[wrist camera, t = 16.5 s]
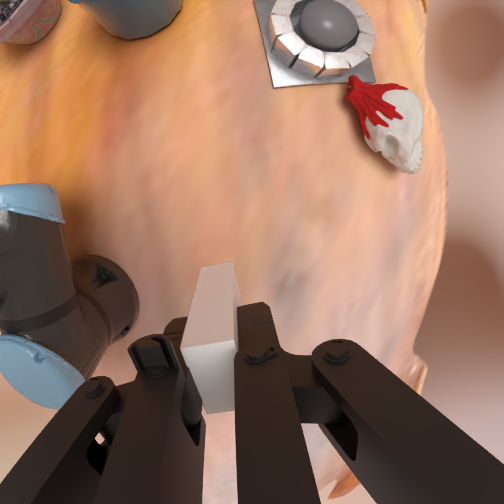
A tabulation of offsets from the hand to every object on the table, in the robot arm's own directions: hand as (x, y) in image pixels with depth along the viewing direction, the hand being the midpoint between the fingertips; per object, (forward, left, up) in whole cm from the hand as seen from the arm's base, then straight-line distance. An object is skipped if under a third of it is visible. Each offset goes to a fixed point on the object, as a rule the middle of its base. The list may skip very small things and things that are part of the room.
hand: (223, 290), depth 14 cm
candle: (+24, +10, -30) cm, 39 cm away
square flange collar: (+17, +24, -29) cm, 41 cm away
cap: (+18, +24, -29) cm, 41 cm away
